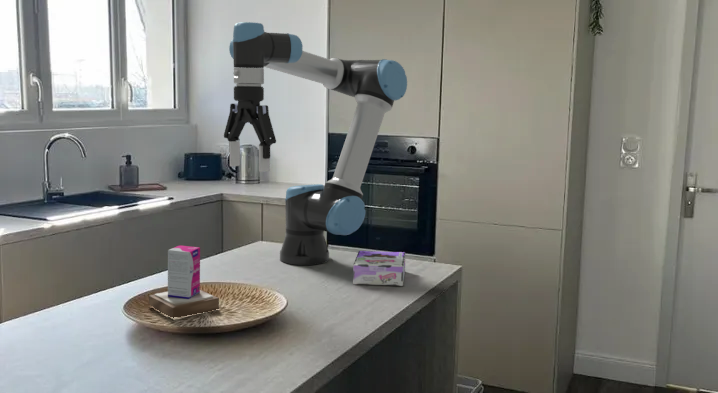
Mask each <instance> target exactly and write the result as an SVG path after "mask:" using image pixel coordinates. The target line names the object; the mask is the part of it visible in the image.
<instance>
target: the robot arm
mask: <svg viewBox="0 0 718 393" xmlns="http://www.w3.org/2000/svg"><path fill="white" fill-rule="evenodd" d="M264 28H265V27H264V25H263V23H260V22H254V21H253V22H252V21H251V22H250V21H249V22H248V21H246V22H245V21H242V22H236V23H235V24H234V26H233V34H232V36H233V37H232V39H231V41H230V43H229V46H228V48H229V55H230V56H231V58H232V60H233V84H235V86H233V100H234V101H236V102H237V103H230V105H229V115H228V118H227V122H226V125H225V130H224V133H223V138H224V139H226V140H227V141H228V152H229V167H240V166H241V147H240V146H241V142H240V135H241V134H242V132H243V130H244V128H245V126H246V124H247V123H249V124H250V125H252V127H253V129H254V132H255V134H256V137H257V138H258V140H259V144H258V172H259V173H264V172H265V173H266V172H271V171H270V170H271V169H270V167H271V166H270V164H271V163H270V159H271V146H272V145H273V144H276V143H277V139H276V135H275V131H274V128H273V124H272V121H271V117H270V112H269V111H270V110H269V105H266V104H265V105H261V102H263V101H264V100H265V97H264V96H265V94H264V93H265V90H264V89H265V88H264V86H262V85H263V84H265V75H264V74H265V70H264V68H266V69H270V70H273V71H277V72H281V73H283V74H288V75H292V76H294V77H297V78H301V79H305V80H309V81H311V82H315V83H319V84H322V85H323V87H324V88H326V89H328V90H331V91H334V92H337V93H340V94H343V95H346V96H349V97H351V98H354V99H355V101H356V104H357V105H356V107H355V111H354V114H353V116H352V119H351V122H350V124H349V128H348V130H347V133H346V137H345V141H344V142H343V147H342V149H341V152H340V156H339V159H338V161H337V164H336V166H335V170H334V173H333V176H332V178H331V179H329V180H327V181H325V183H324V184H321V183H320V184H319V183H317V184H314V183H313V184H301V185H293V186H289V187H288V188H287V189H286V191H285V193H286V194H285V199H284V200H285V201H284V202H285V236H284V239H283V242H282V246H281V249H280V251H279V260H280V262H283V263H285V264H289V265H297V266H314V265H321V264H324V263H327V262H329V260H330V251H329V249H328V244H327V241H326V238H325V232H327V233H329V234H333V235H336V236H337V235H341V236H347V235H351V234H353V233H355V232H356V231H357V230H359V228H360V227H361V226H362V224H363V223H364V220H365V217H366V209H365V208H366V205H365V202H364V201H363V196H364V193H363V192H362V189H361V186H362V184H363V180H364V179H365V174H366V171H367V169H368V165H369V162H370V160H371V156H372V153H373V150H374V147H375V144H376V141H377V138H378V134H379V132H380V129H381V126H382V123H383V120H384V116H385V114H386V113H388V112H390V111H392V109H393V106H394V102H395V101H399V100H400V99H402V98H403V97H404V96H405V94H406V92H407V90H408V76H407V74H406V71H405V69H404V67H403V66H402V64H401V63H400V62H398V61H396V60H393V59H385V58H384V59H383V58H382V59H350V60H347V59H341V58H337V57H332V58H330V59H329V58H327V57H323V56H320V55H318V54H313V53H311V52H308V51H304V50H303V47H304V46H303V42H302V40H301V38H300V37H299V36H298V35H296V34H291V33H287V32H286V33H284V32H283V33H279V32H267V31H266V32H265V29H264Z"/></svg>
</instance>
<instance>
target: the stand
mask: <svg viewBox="0 0 718 393" xmlns="http://www.w3.org/2000/svg"><path fill="white" fill-rule="evenodd" d="M149 304H150V305H151V306H153V307H154V308H155V309H157V310H159V311H160V312H162V313H164V314H166V315H168V316H170V317H173V318H174V317H181V316H187V315H192V314H197V313H203V312H208V311H212V310H216V309H219V310H220V297H217V296H215V295H214V294H211V293H208V292H206V291H204V290H202V289H200V293H198V294H196V295H195V296H193V297H191V298H190V299H181V298H171V297H168V290H167V291H163V292H157V293H154V294H150V295H148V305H149ZM208 313H209V312H208Z"/></svg>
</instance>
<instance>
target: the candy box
mask: <svg viewBox="0 0 718 393" xmlns="http://www.w3.org/2000/svg"><path fill="white" fill-rule="evenodd" d="M352 267H353V270H352V284H353V285H368V286H370V285H372V286H397V287H403V286H404V280H405V273H406V252H405V251H403V252H402V251H380V250H379V251H375V250H374V251H373V250H372V251H371V250H358V251H357V255H356V256H355V260H354V263H353V266H352Z"/></svg>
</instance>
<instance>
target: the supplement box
mask: <svg viewBox="0 0 718 393" xmlns="http://www.w3.org/2000/svg"><path fill="white" fill-rule="evenodd" d="M200 290H201V247H198V246H188V245H177V246H175V247H172V248H170V249H167V291H168V297H171V298H181V299H190V298H191V297H193V296H195V295H196V294H198V293H200Z"/></svg>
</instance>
